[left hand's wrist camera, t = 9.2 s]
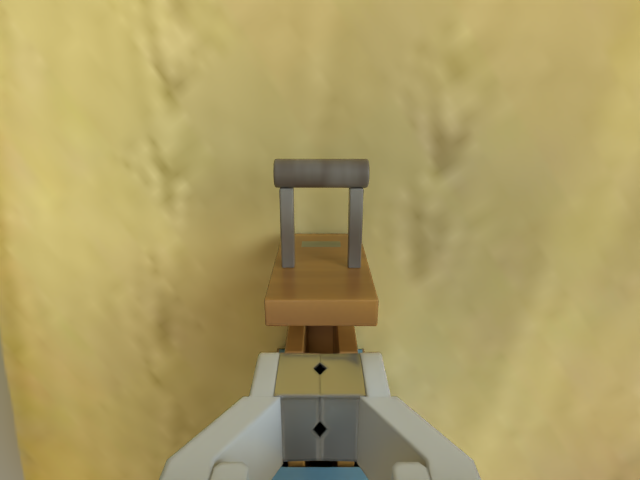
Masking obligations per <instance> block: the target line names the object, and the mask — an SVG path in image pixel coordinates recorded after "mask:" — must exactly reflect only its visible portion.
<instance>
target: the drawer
mask: <svg viewBox="0 0 640 480" xmlns="http://www.w3.org/2000/svg"><path fill="white" fill-rule="evenodd" d="M368 184H369V161H368V160H367V159H275V161H274V185H275V187H278V188H280V190H279V193H280V226H281V241H280V245H279V248H278V252H277V256H276V259H275V263H274V267H273V271H272V274H271V278H270V282H269V285H268V289H267V293H266V297H265V300H264V304H265V324H266V326H288V331H287V338H286V345H285V353H320V354H345V353H358V348H357V341H356V334H355V328H354V326H377V320H378V297H377V294H376V290H375V287H374V283H373V280H372V276H371V273H370V269H369V266H368V262H367V258H366V255H365V251H364V248H363V244H362V216H363V188H366V187H368ZM294 188H349V211H348V234H294ZM288 467H354V462H351V461H288Z"/></svg>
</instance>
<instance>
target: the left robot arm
mask: <svg viewBox="0 0 640 480" xmlns="http://www.w3.org/2000/svg"><path fill="white" fill-rule="evenodd" d="M288 461H351V462H357V464H358V465H359V467H360V468H361V470H362V471H363V472H364V474H365V475H366V477H367V478H368V479H369V480H481V478H480V476H479V473H478V471H477V468H476V466H475V463H474V461H473V460H472V459H471V458H470V457H469V456H467V455H466V454H465V453H464V452H463V451H461V450H460V449H459V448H458V447H457V446H455V445H454V444H453V443H452V442H451V441H450V440H448V439H447V438H446V437H445V436H444V435H442V434H441V433H440V432H439V431H438V430H436V429H435V428H434V427H433V426H432V425H430V424H429V423H428V422H427V421H426V420H424V419H423V418H422V417H421V416H420V415H418V414H417V413H416V412H415V411H414V410H412V409H411V408H410V407H409V406H408V405H406V404H405V403H404V402H403V401H402V400H401V399H399V398H398V397H392V396H391V394H390V390H389V385H388V381H387V377H386V372H385V368H384V363H383V359H382V355H381V353H380V352H369V353H345V354H320V353H279V352H260V354H259V355H258V359H257V363H256V368H255V372H254V376H253V381H252V385H251V390H250V394H249V396H248V397H242V398H241V399H240V400H238V401H237V402H236V403H235V404H234V405H232V406H231V407H230V408H229V409H228V410H226V411H225V412H224V413H223V414H221V415H220V416H219V417H218V418H217V419H215V420H214V421H213V422H212V423H211V424H209V425H208V426H207V427H206V428H205V429H203V430H202V431H201V432H200V433H199V434H197V435H196V436H195V437H194V438H193V439H191V440H190V441H189V442H188V443H187V444H185V445H184V446H183V447H182V448H181V449H179V450H178V451H177V452H176V453H175V454H173V455H172V456H171V457H170V458H169V459H167V461H166V464H165V466H164V468H163V471H162V473H161V476H160V478H159V480H272V478H273V477H274V476H275V474H276V473H277V471H278V470H279V469H280V467H281V466H282V465H283V462H288Z"/></svg>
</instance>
